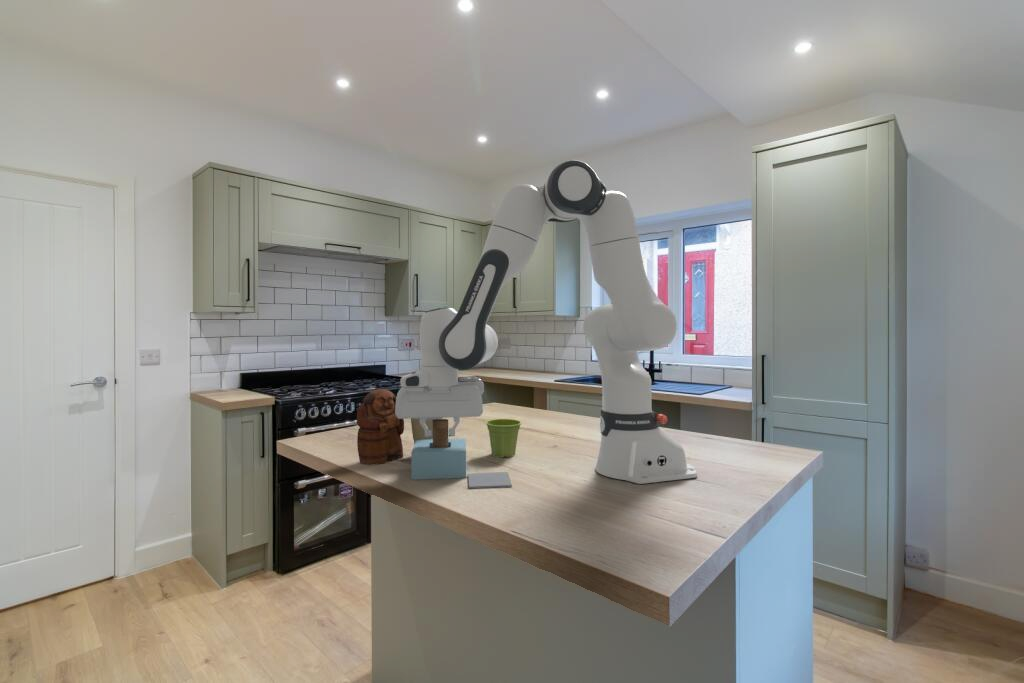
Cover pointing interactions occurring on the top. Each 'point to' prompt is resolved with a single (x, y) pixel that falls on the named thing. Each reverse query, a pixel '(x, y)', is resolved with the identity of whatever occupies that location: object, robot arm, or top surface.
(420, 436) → the coffee cup
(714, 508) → the top surface
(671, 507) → the top surface
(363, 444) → the wooden figurine
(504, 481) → the pad
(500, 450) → the plant pot
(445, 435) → the peg
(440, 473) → the socket
